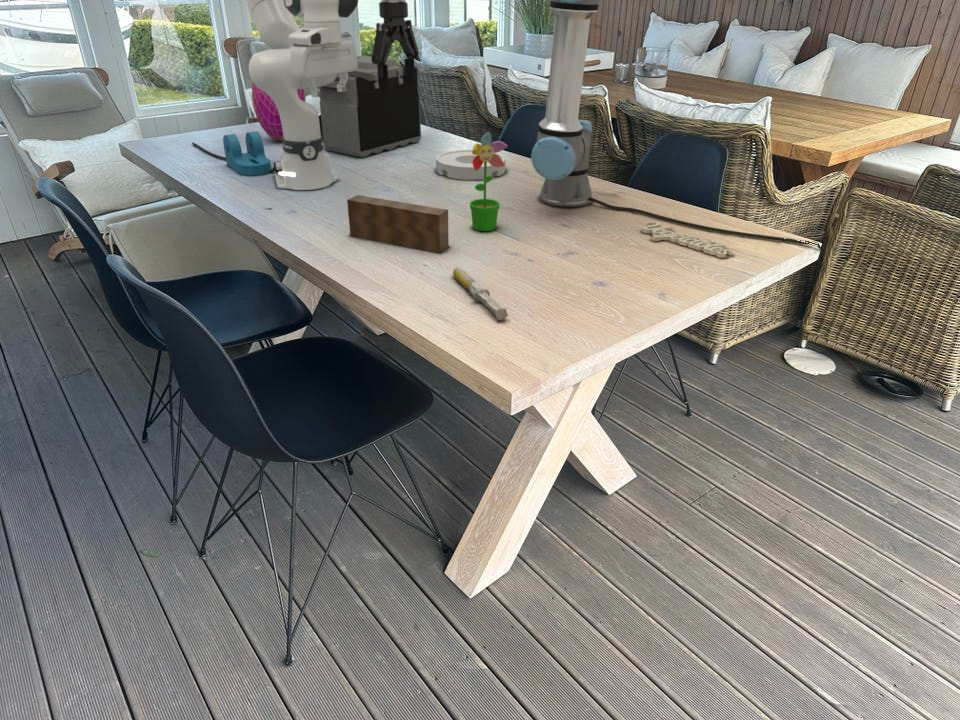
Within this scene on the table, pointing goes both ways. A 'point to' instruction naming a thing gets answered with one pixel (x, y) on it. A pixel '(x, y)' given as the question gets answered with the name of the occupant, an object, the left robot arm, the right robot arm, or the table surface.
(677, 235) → the decorative sign
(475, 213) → the potted flower
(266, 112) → the decorative egg
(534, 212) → the table surface
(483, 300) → the syringe
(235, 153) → the camera mount
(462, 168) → the ashtray
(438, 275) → the table surface
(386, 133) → the electronic device
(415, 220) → the bar
